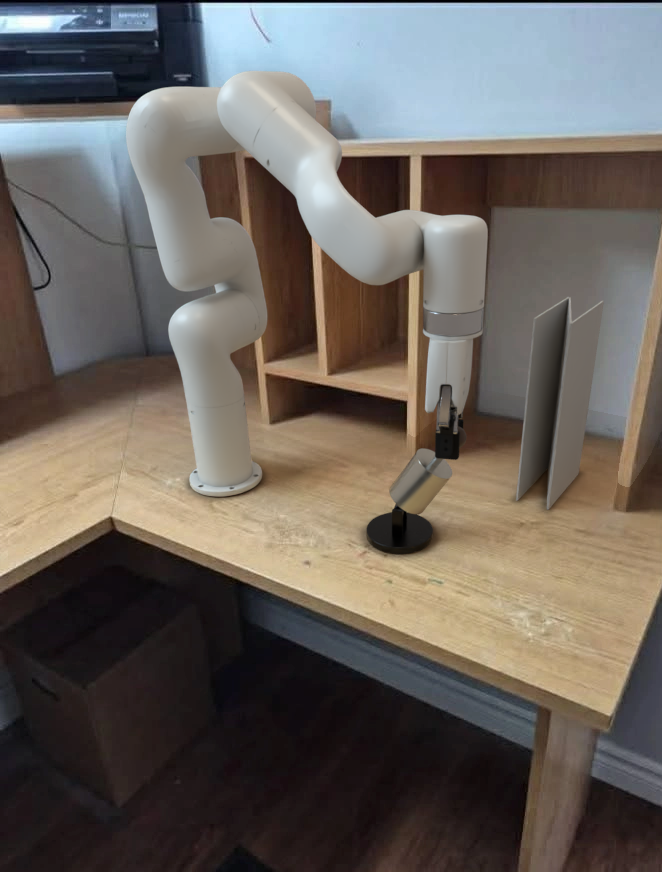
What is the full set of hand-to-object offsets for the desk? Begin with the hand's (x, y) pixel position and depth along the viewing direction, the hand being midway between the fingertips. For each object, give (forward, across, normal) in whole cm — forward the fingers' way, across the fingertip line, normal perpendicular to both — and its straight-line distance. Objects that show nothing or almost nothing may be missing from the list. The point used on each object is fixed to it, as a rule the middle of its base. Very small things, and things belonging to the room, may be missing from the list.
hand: (449, 450), depth 95 cm
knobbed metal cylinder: (+5, 0, 0) cm, 5 cm away
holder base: (+15, 0, -7) cm, 17 cm away
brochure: (+15, -20, +14) cm, 29 cm away
